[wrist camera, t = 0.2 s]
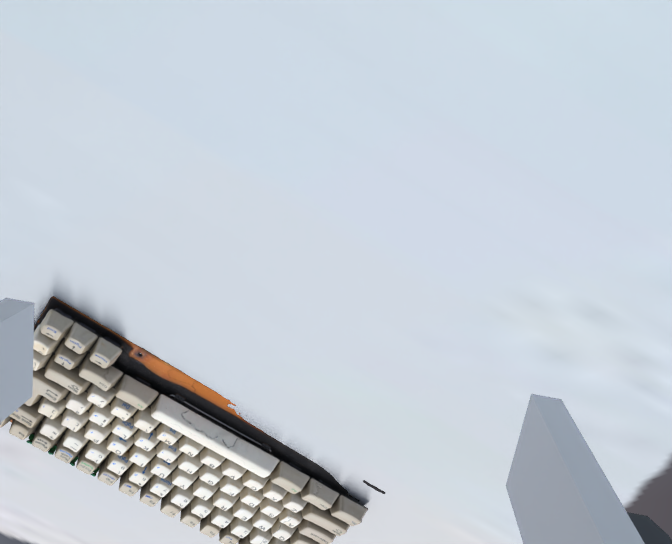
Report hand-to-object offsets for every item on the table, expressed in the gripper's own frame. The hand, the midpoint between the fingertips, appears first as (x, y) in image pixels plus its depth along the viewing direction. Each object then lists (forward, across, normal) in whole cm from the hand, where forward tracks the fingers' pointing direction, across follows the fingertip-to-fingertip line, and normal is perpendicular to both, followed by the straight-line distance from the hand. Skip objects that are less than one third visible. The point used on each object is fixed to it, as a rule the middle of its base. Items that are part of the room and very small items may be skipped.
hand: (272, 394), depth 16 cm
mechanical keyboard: (+39, -12, -28) cm, 50 cm away
